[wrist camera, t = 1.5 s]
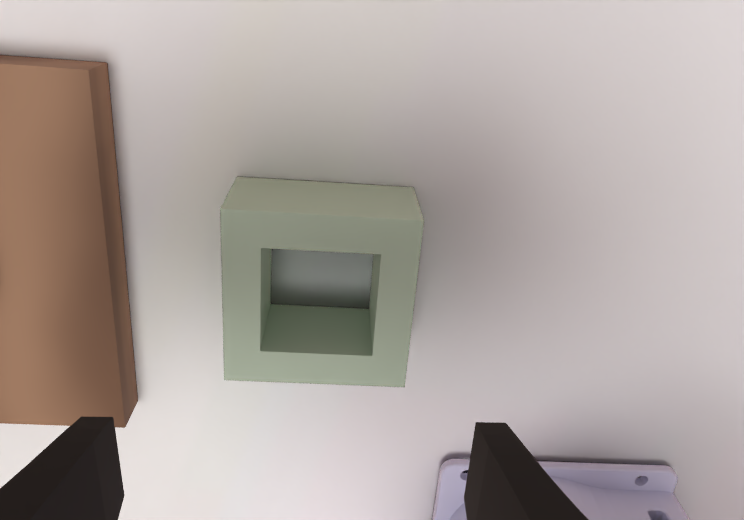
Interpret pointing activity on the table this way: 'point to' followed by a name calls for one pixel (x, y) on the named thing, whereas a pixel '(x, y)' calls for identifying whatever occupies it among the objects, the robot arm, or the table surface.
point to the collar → (315, 323)
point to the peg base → (61, 248)
